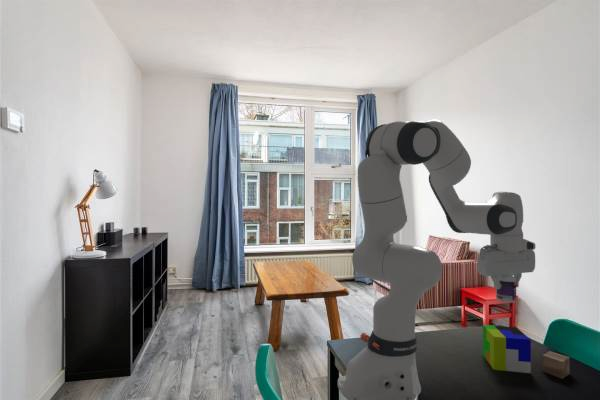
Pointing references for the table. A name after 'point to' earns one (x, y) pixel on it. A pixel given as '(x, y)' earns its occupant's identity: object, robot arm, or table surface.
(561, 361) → the walnut block
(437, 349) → the table surface
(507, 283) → the pill bottle
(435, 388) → the table surface
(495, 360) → the puzzle toy
